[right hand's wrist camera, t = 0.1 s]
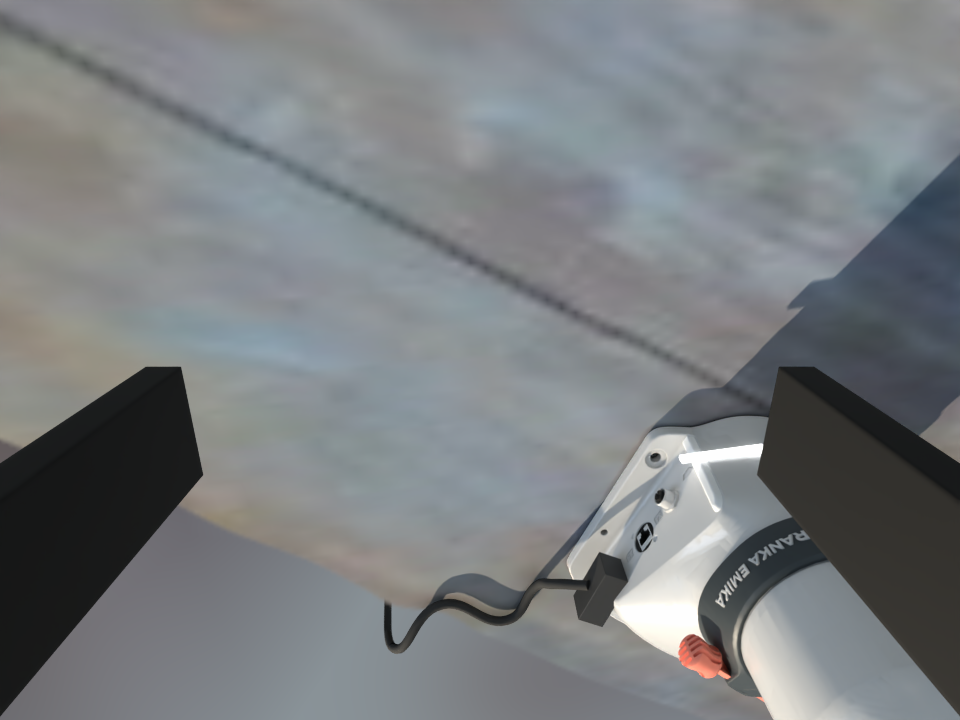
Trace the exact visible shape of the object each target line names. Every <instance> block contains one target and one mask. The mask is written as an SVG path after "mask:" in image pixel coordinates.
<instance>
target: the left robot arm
mask: <svg viewBox="0 0 960 720" xmlns="http://www.w3.org/2000/svg"><path fill="white" fill-rule="evenodd" d="M767 423H768V417H762V416H736V417H730V418H724V419H720V420H717V421H714V422H710V423H707V424H704V425H700V426H696V427H660V428H656V429H654V430H652V431H651V432H650V433H648V435H647V436H646V437H645V439H644V440H643V442H642V443H641V445H640V447H639V448H638V450H637V451H636V453H635V454H634V456H633V457H632V459H631V460H630V462H629V464H628V465H627V467H626V468H625V470H624V471H623V473H622V474H621V476H620V477H619V479H618V481H617V482H616V484H615V485H614V487H613V488H612V490H611V491H610V493H609V494H608V496H607V498H606V499H605V501H604V502H603V504H602V505H601V507H600V508H599V510H598V511H597V513H596V515H595V516H594V518H593V519H592V521H591V522H590V524H589V525H588V527H587V528H586V530H585V531H584V533H583V535H582V536H581V538H580V539H579V541H578V542H577V544H576V545H575V547H574V549H573V550H572V552H571V553H570V555H569V557H568V559H567V566H568V568H569V571H570V574H571V576H572V578H573V579H545V578H544V579H538V580H536V581H535V582H533V583H532V584H531V585H530V586H529V588H528V589H527V591H526V592H525V594H524V596H523V598H522V600H521V602H520V604H519V606H518V607H517V609H516V610H515V611H514V612H513V613H511V614H509V615H506V616H492V615H489V614H486V613H484V612H482V611H480V610H479V609H477V608H475V607H473V606H471V605H469V604H467V603H465V602H462V601H459V600H455V599H445V600H440V601H437V602H435V603H433V604H431V605H430V606H428V607H427V608H426V609H424V610H423V611H422V612H421V613H420V615H419V616H418V617H417V618H416V620H415V621H414V623H413V624H412V626H411V628H410V629H409V631H408V633H407V635H406V636H405V638H404V640H403V641H402V642H401V643H400V644H395V642H394V640H393V637H392V613H391V612H392V604H389V603H387V602H385V601H384V637H385V643H386V646H387V648H388V649H389V650H390V651H391V652H392V653H395V654H398V653H402V652H404V651H405V650H406V649H407V648H408V647H409V646H410V644H411V643H412V641H413V640H414V638H415V636H416V635H417V633H418V631H419V630H420V628H421V626H422V625H423V624H424V622H425V621H426V620H427V619H428V617H430V616H431V615H432V614H433V613H435V612H437V611H439V610H442V609H448V608H451V609H457V610H460V611H463V612H465V613H467V614H469V615H471V616H473V617H474V618H476V619H478V620H480V621H482V622H484V623H487V624H490V625H494V626H504V625H509V624H511V623H514V622H515V621H517V620H518V619H519V618H520V617H521V616H522V615H523V614H524V613H525V611H526V610H527V608H528V606H529V604H530V602H531V600H532V598H533V596H534V595H535V593H536V592H537V591H539V590H540V589H542V588H547V589H570V590H577V591H576V592H575V594H574V600H575V605H576V610H577V615H578V619H579V620H582V621H585V622H588V623H591V624H594V625H598V626H601V627H603V625H604V623H605V622H606V620H607V619H608V617H609V615H610V616H612V617H614V618H615V619H617V620H619V621H621V622H623V623H625V624H626V625H627V626H628V627H629V628H630V629H631V630H632V631H634V632H635V633H636V634H637V635H638V636H640V637H641V638H642V639H644V640H645V641H647V642H648V643H650V644H652V645H653V646H655V647H656V648H658V649H660V650H662V651H664V652H666V653H668V654H670V655H672V656H675V657H677V658H679V660H680V661H681V662H682V664H683V665H684V666H686V667H688V668H690V669H692V670H695V671H698V672H699V674H700V675H701V676H703V677H705V678H712V677H714V676H716V675H717V674H719V675H721V676H722V677H724V679H725V681H726V682H727V684H728V686H730V687H731V688H733V689H734V690H736V691H738V692H739V693H741V694H743V695H746V696H751V697H757V698H759V699H760V700H762V701H764V702H765V704H766V706H767V708H768V710H769V712H770V714H771V716H772V718H773V720H960V716H959V715H958V714H957V712H956V711H955V710H954V709H953V708H952V706H951V705H950V704H949V703H948V702H947V701H946V699H945V698H944V697H943V696H942V695H941V693H940V692H939V691H938V690H937V689H936V687H935V686H934V685H933V684H932V683H931V681H930V680H929V679H928V678H927V677H926V676H925V674H924V673H923V672H922V671H921V670H920V668H919V667H918V666H917V665H916V664H915V662H914V661H913V660H912V659H911V658H910V657H909V655H908V654H907V653H906V652H905V651H904V649H903V648H902V647H901V646H900V645H899V643H898V642H897V641H896V640H895V639H894V637H893V636H892V635H891V634H890V633H889V632H888V630H887V629H886V628H885V627H884V626H883V624H882V623H881V622H880V621H879V620H878V618H877V617H876V616H875V615H874V614H873V612H872V611H871V610H870V609H869V608H868V607H867V605H866V604H865V603H864V602H863V601H862V599H861V598H860V597H859V596H858V595H857V593H856V592H855V591H854V590H853V589H852V588H851V586H850V585H849V584H848V583H847V582H846V580H845V579H844V578H843V577H842V576H841V574H840V573H839V572H838V571H837V570H836V568H835V567H834V566H833V565H832V564H831V563H830V561H829V560H828V559H827V558H826V557H825V555H824V554H823V553H822V552H821V551H820V549H819V548H818V547H817V546H816V545H815V543H814V542H813V541H812V540H811V539H810V538H809V536H808V535H807V534H806V533H805V532H804V530H803V529H802V528H801V527H800V526H799V524H798V523H797V522H796V521H795V520H794V519H793V517H792V516H791V515H790V514H789V513H788V511H787V510H786V509H785V508H784V507H783V505H782V504H781V503H780V502H779V501H778V499H777V498H776V497H775V496H774V495H773V494H772V492H771V491H770V490H769V489H768V488H767V486H766V485H765V484H764V483H763V482H762V480H761V479H760V478H759V477H758V476H757V472H758V467H759V462H760V457H761V452H762V447H763V443H764V438H765V433H766V428H767ZM653 453H658V455H657V456H656V457H654V458H651V457H650V456H651V455H652V454H653Z"/></svg>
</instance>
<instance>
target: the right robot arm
mask: <svg viewBox="0 0 960 720" xmlns="http://www.w3.org/2000/svg"><path fill="white" fill-rule="evenodd" d="M202 476H203V472H202V467H201V462H200V457H199V452H198V447H197V443H196V438H195V433H194V428H193V423H192V418H191V413H190V409H189V404H188V399H187V394H186V389H185V384H184V379H183V374H182V370H181V367H145V368H143V369H142V370H140V371H139V372H137V373H136V374H134V375H133V376H131V377H130V378H128V379H127V380H125V381H124V382H122V383H121V384H119V385H118V386H116V387H115V388H113V389H112V390H110V391H109V392H107V393H106V394H104V395H103V396H101V397H100V398H98V399H97V400H95V401H94V402H92V403H91V404H89V405H88V406H86V407H85V408H83V409H82V410H80V411H79V412H77V413H76V414H74V415H73V416H71V417H69V418H68V419H66V420H65V421H63V422H62V423H60V424H59V425H57V426H56V427H54V428H53V429H51V430H50V431H48V432H47V433H45V434H44V435H42V436H41V437H39V438H38V439H36V440H35V441H33V442H32V443H30V444H29V445H27V446H26V447H24V448H23V449H21V450H20V451H18V452H17V453H15V454H14V455H12V456H11V457H9V458H8V459H6V460H5V461H3V462H2V463H0V716H1V715H2V714H3V712H4V711H5V710H6V709H7V708H8V706H9V705H10V704H11V703H12V702H13V700H14V699H15V698H16V697H17V696H18V695H19V693H20V692H21V691H22V690H23V689H24V687H25V686H26V685H27V684H28V683H29V681H30V680H31V679H32V678H33V677H34V676H35V674H36V673H37V672H38V671H39V670H40V668H41V667H42V666H43V665H44V664H45V662H46V661H47V660H48V659H49V658H50V656H51V655H52V654H53V653H54V652H55V651H56V649H57V648H58V647H59V646H60V645H61V643H62V642H63V641H64V640H65V639H66V637H67V636H68V635H69V634H70V633H71V632H72V630H73V629H74V628H75V627H76V626H77V624H78V623H79V622H80V621H81V620H82V618H83V617H84V616H85V615H86V614H87V612H88V611H89V610H90V609H91V608H92V607H93V605H94V604H95V603H96V602H97V600H98V599H99V598H100V597H101V596H102V595H103V593H104V592H105V591H106V590H107V589H108V588H109V586H110V585H111V584H112V583H113V582H114V580H115V579H116V578H117V577H118V576H119V574H120V573H121V572H122V571H123V570H124V568H125V567H126V566H127V565H128V564H129V563H130V561H131V560H132V559H133V558H134V557H135V555H136V554H137V553H138V552H139V551H140V549H141V548H142V547H143V546H144V545H145V543H146V542H147V541H148V540H149V539H150V537H151V536H152V535H153V534H154V533H155V532H156V530H157V529H158V528H159V527H160V526H161V524H162V523H163V522H164V521H165V520H166V519H167V517H168V516H169V515H170V514H171V513H172V511H173V510H174V509H175V508H176V507H177V505H178V504H179V503H180V502H181V501H182V499H183V498H184V497H185V496H186V495H187V494H188V492H189V491H190V490H191V489H192V488H193V486H194V485H195V484H196V483H197V482H198V480H199V479H200V478H201V477H202ZM757 476H758V477H759V478H760V479H761V480H762V482H763V483H764V484H765V485H766V486H767V488H768V489H769V490H770V491H771V492H772V494H773V495H774V496H775V497H776V498H777V499H778V501H779V502H780V503H781V504H782V505H783V507H784V508H785V509H786V510H787V511H788V513H789V514H790V515H791V516H792V517H793V519H794V520H795V521H796V522H797V523H798V524H799V526H800V527H801V528H802V529H803V530H804V532H805V533H806V534H807V535H808V536H809V538H810V539H811V540H812V541H813V542H814V543H815V545H816V546H817V547H818V548H819V549H820V551H821V552H822V553H823V554H824V555H825V557H826V558H827V559H828V560H829V561H830V563H831V564H832V565H833V566H834V567H835V568H836V570H837V571H838V572H839V573H840V574H841V576H842V577H843V578H844V579H845V580H846V582H847V583H848V584H849V585H850V586H851V588H852V589H853V590H854V591H855V592H856V593H857V595H858V596H859V597H860V598H861V599H862V601H863V602H864V603H865V604H866V605H867V607H868V608H869V609H870V610H871V611H872V612H873V614H874V615H875V616H876V617H877V618H878V620H879V621H880V622H881V623H882V624H883V626H884V627H885V628H886V629H887V630H888V632H889V633H890V634H891V635H892V636H893V637H894V639H895V640H896V641H897V642H898V643H899V645H900V646H901V647H902V648H903V649H904V651H905V652H906V653H907V654H908V655H909V657H910V658H911V659H912V660H913V661H914V662H915V664H916V665H917V666H918V667H919V668H920V670H921V671H922V672H923V673H924V674H925V676H926V677H927V678H928V679H929V680H930V681H931V683H932V684H933V685H934V686H935V687H936V689H937V690H938V691H939V692H940V693H941V695H942V696H943V697H944V698H945V699H946V701H947V702H948V703H949V704H950V705H951V706H952V708H953V709H954V710H955V711H956V712H957V714H958V715H959V716H960V463H958V462H957V461H955V460H954V459H952V458H951V457H949V456H948V455H946V454H945V453H943V452H942V451H940V450H939V449H937V448H936V447H934V446H933V445H931V444H930V443H928V442H927V441H925V440H924V439H922V438H921V437H919V436H918V435H916V434H915V433H913V432H912V431H910V430H909V429H907V428H906V427H904V426H903V425H901V424H900V423H898V422H897V421H895V420H894V419H892V418H891V417H889V416H887V415H886V414H884V413H883V412H881V411H880V410H878V409H877V408H875V407H874V406H872V405H871V404H869V403H868V402H866V401H865V400H863V399H862V398H860V397H859V396H857V395H856V394H854V393H853V392H851V391H850V390H848V389H847V388H845V387H844V386H842V385H841V384H839V383H838V382H836V381H835V380H833V379H832V378H830V377H829V376H827V375H826V374H824V373H823V372H821V371H820V370H818V369H817V368H815V367H779V370H778V374H777V379H776V384H775V389H774V394H773V399H772V404H771V409H770V413H769V418H768V423H767V428H766V433H765V438H764V443H763V447H762V452H761V457H760V462H759V467H758V472H757Z"/></svg>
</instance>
